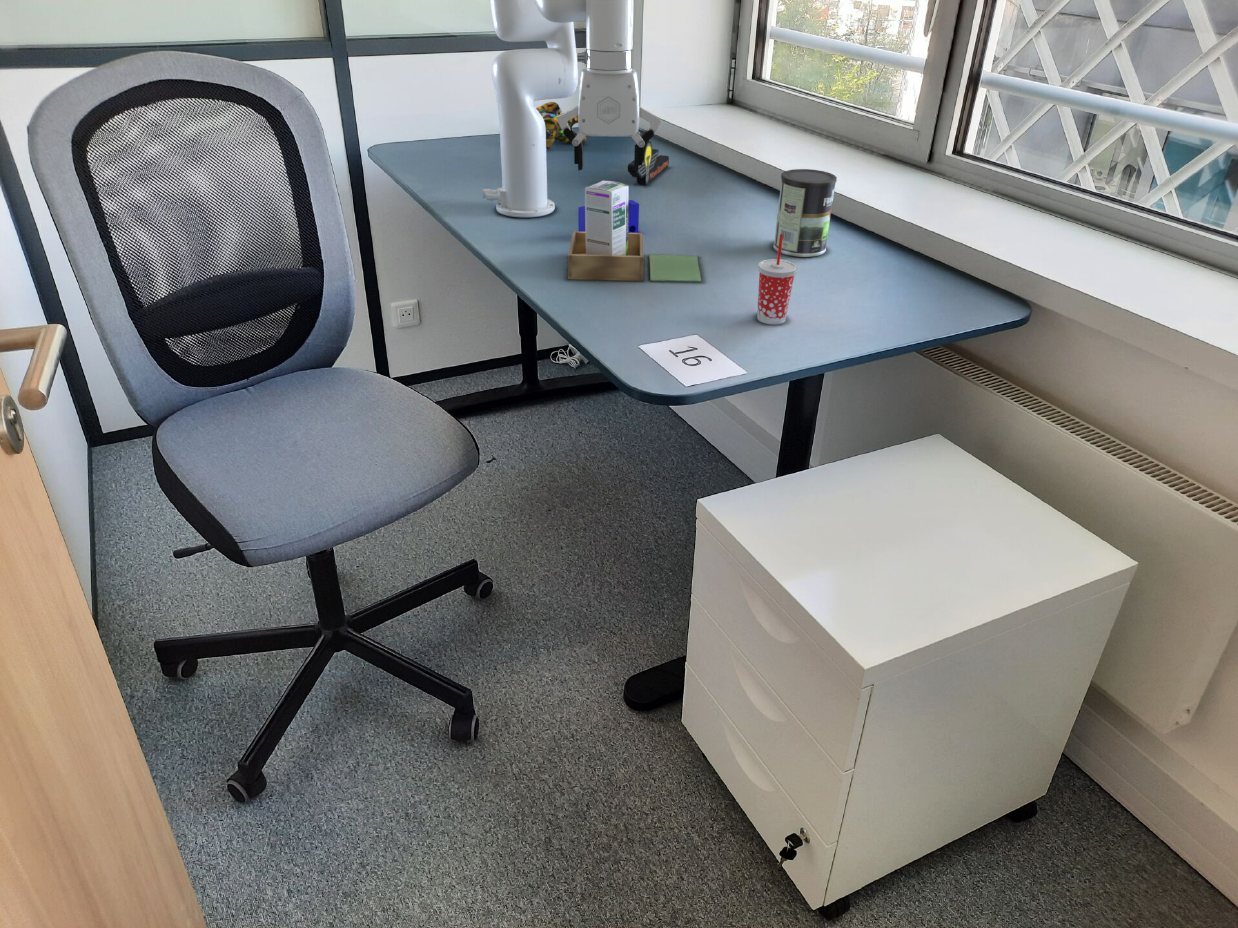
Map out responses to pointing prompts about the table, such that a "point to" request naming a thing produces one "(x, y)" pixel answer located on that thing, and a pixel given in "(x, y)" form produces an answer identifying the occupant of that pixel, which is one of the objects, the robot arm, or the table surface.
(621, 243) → the syrup box
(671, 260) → the mat
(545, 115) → the dog figurine
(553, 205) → the robot arm
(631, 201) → the cable clip
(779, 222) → the coffee can
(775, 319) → the beverage cup
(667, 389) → the table surface
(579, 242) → the tray
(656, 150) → the decorative sign
